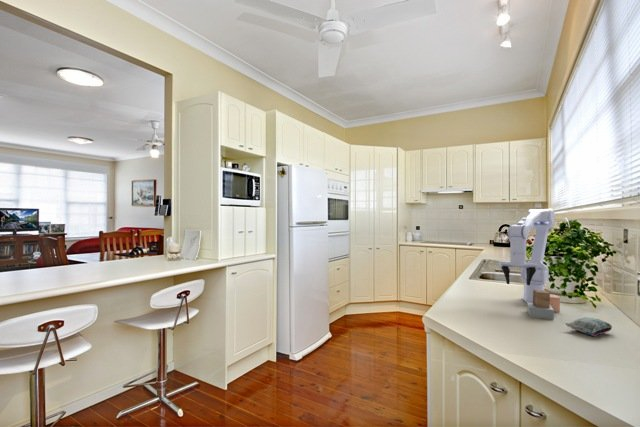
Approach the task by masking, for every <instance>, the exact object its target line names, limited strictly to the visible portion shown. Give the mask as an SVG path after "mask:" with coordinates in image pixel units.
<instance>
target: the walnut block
mask: <svg viewBox="0 0 640 427" xmlns="http://www.w3.org/2000/svg"><path fill="white" fill-rule="evenodd" d="M550 295H551V292H549V291H547V290H545V289H544V290H533V305H534V306H536V307H541V308H550Z"/></svg>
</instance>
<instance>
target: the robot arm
mask: <svg viewBox="0 0 640 427" xmlns="http://www.w3.org/2000/svg"><path fill="white" fill-rule="evenodd" d="M555 215H556V214H555V210H553V208H544V209H543V208H539V209H538V208H537V209H536V208H534V209H533V208H530V209H529V210H528V211H527V214H526V217H522V218H521V219H520V220H519V221H517V223H516V224H512V225H509V226H508V229H507V235H508V240H509V242H510V243H509V244H510V249H509V250H510V251H509V252H510V254H509V255H510V256H509V257H510V258H509V259H510V261H498V267H499V268H500V269H501V270H502V272H503V274H504V277H505V282H506V284H507V285H510V284H511V283H510V272H511V271H510V270H511V269H510V268H522V269H521V271H520V278H521V279H522V281H523V282H524V285H523V297H521V299H522V300H523V301H524V302H525V303H526V304H527V303H533V290H545V285H546V284H547V283H548V281H549V277H550V272H549V270H550V269H549V267H548V266H547V265H546V264H545V263H544V257H545V251H546V246H547V242H548V241H547V240H548V237H549V236H548V235H549V232H550V230H551V229H553V228H554V225H555V224H554V223H555V220H556V216H555ZM532 229H534V230H535V234H534V235H535V236H534V240H533V245H532V251H531V256H530V260H528V261H527V257H526V256H527V238H528V237H529V234H530V231H532Z"/></svg>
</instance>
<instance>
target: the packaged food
mask: <svg viewBox="0 0 640 427" xmlns="http://www.w3.org/2000/svg"><path fill="white" fill-rule="evenodd" d="M565 326H567V327H569V328H571V329H573V330H575V331H578V332H580V333H583V334H584V335H585V334H586V335H588V336H592V337H597V336H598V335H602V334H605V333H608V332H611V330H612V327H613V326H612V324H611V323H609V322H606V321H604V320H603V319H599V318H594V317H581V318H577V319H575V320H573V321H570V322H565Z"/></svg>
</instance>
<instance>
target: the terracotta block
mask: <svg viewBox="0 0 640 427" xmlns="http://www.w3.org/2000/svg"><path fill="white" fill-rule="evenodd" d="M550 305H551V307H552V308H553V309H554V313H555V312H556V313H560V312H561V297H559V296H558V295H555V294H550Z"/></svg>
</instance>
